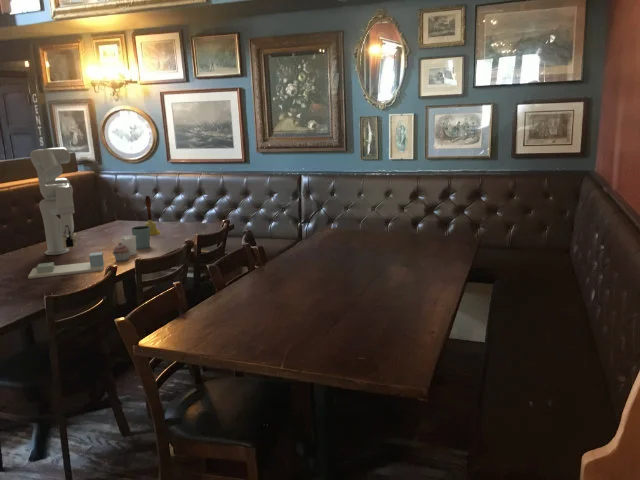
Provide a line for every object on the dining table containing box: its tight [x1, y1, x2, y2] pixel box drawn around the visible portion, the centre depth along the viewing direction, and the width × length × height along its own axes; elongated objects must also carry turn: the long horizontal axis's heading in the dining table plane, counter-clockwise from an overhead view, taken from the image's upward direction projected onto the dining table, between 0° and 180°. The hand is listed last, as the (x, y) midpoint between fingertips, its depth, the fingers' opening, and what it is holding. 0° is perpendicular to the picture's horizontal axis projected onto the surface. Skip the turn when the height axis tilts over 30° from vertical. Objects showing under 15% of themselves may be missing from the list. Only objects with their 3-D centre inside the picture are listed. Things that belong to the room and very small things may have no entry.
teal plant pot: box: [131, 225, 151, 250], centre depth 316 cm, size 10×10×12 cm
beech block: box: [62, 232, 79, 249], centre depth 271 cm, size 6×6×6 cm
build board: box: [27, 261, 105, 279], centre depth 273 cm, size 15×34×4 cm, turn 109°
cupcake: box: [111, 242, 130, 263], centre depth 289 cm, size 9×9×10 cm
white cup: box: [120, 234, 137, 257], centre depth 301 cm, size 8×8×10 cm
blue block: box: [88, 251, 105, 267], centre depth 277 cm, size 6×6×6 cm
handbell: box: [144, 195, 162, 237], centre depth 350 cm, size 12×12×25 cm
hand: (70, 244), depth 272 cm, fingers closed on beech block, 6 cm apart
